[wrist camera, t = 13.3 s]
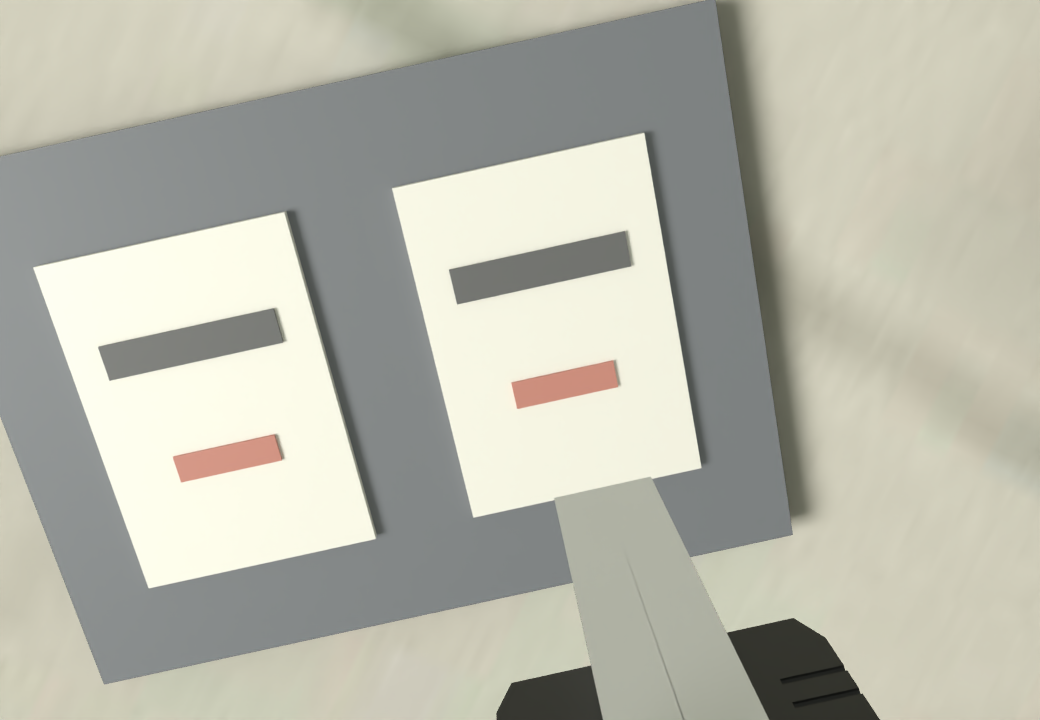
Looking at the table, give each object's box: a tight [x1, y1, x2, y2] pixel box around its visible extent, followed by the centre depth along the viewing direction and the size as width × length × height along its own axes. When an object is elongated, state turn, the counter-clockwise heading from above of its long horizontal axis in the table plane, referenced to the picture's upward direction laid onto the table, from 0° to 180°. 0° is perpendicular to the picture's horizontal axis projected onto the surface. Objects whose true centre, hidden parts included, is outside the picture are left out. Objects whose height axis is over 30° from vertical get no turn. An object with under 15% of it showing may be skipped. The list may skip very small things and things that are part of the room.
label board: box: [0, 0, 793, 684], centre depth 28 cm, size 22×16×1 cm
